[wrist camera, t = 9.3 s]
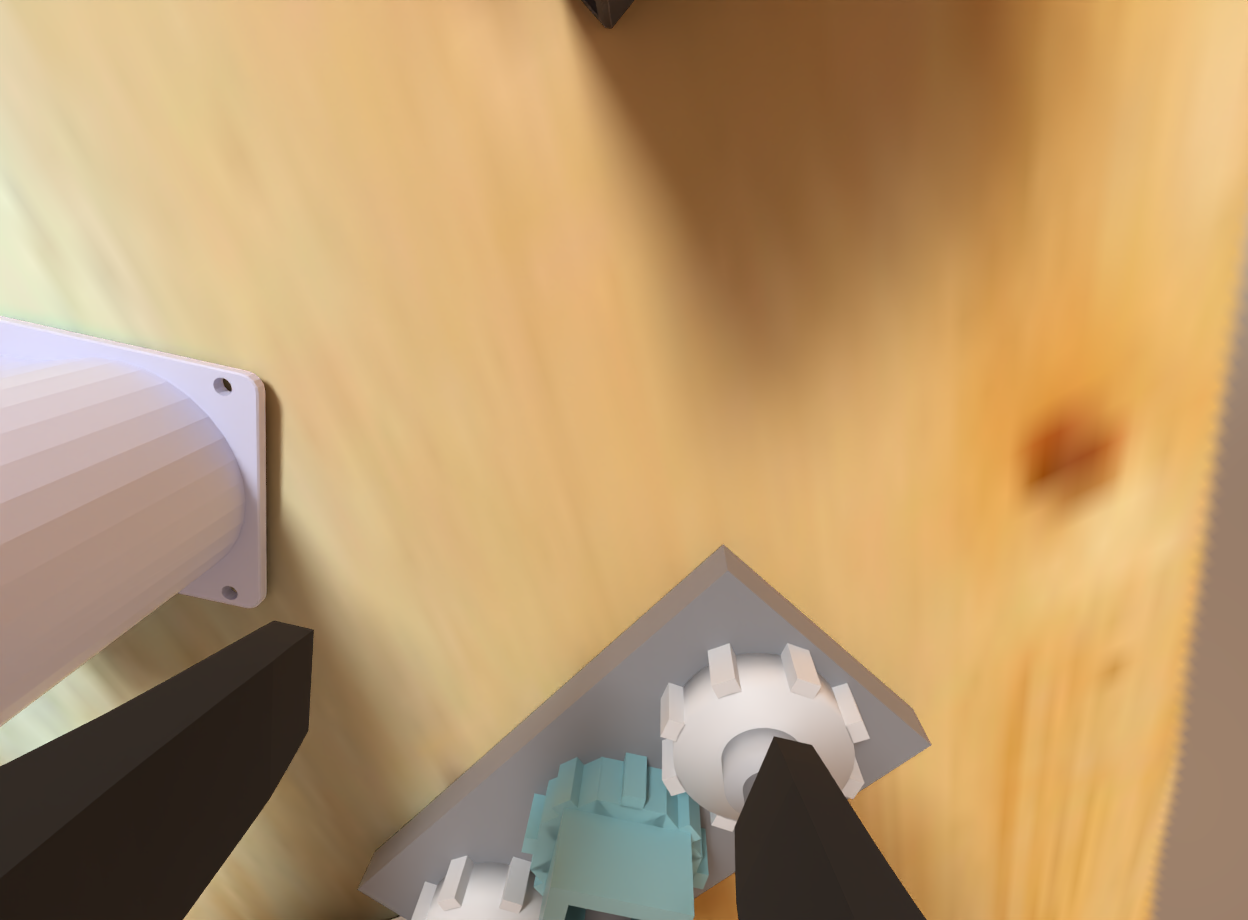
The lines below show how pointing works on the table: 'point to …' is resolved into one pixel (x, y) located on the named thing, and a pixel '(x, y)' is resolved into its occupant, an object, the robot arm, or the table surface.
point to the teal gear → (615, 843)
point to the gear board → (654, 740)
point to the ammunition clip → (608, 10)
